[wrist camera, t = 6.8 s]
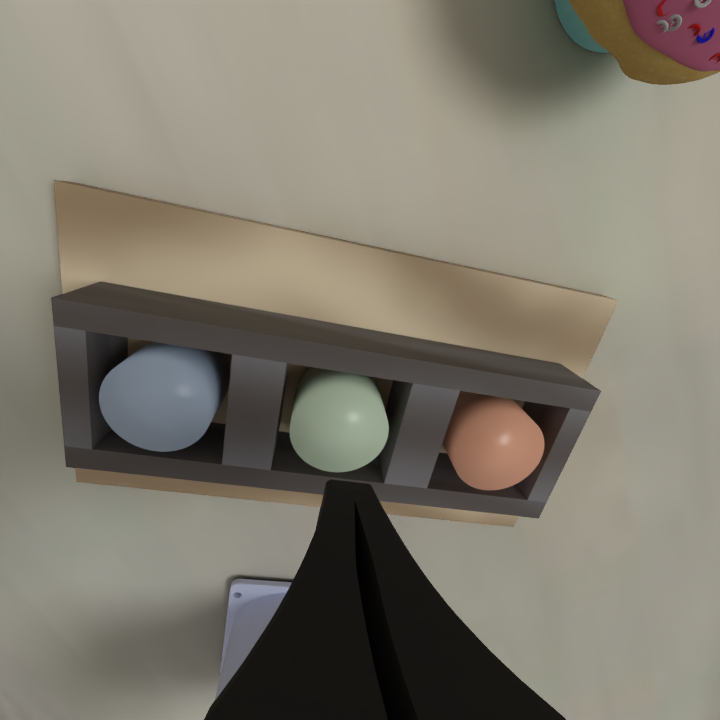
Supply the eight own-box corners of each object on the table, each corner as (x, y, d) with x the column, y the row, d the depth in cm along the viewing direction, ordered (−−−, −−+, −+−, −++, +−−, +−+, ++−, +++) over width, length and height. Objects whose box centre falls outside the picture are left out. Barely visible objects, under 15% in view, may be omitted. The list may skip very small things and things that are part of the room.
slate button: (226, 418, 18) (208, 457, 15) (137, 406, 17) (101, 444, 15) (233, 340, 16) (215, 367, 14) (137, 324, 16) (96, 349, 13)
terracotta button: (497, 455, 20) (524, 494, 17) (425, 445, 19) (442, 485, 17) (524, 388, 19) (558, 420, 16) (448, 375, 18) (470, 406, 15)
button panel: (506, 514, 23) (539, 572, 20) (88, 468, 20) (33, 528, 16) (604, 295, 18) (673, 318, 15) (70, 182, 15) (-15, 173, 11)
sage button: (369, 437, 19) (376, 477, 16) (289, 427, 18) (283, 466, 16) (387, 365, 18) (399, 395, 15) (302, 351, 17) (297, 380, 14)
